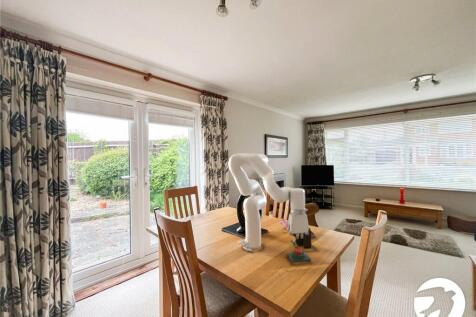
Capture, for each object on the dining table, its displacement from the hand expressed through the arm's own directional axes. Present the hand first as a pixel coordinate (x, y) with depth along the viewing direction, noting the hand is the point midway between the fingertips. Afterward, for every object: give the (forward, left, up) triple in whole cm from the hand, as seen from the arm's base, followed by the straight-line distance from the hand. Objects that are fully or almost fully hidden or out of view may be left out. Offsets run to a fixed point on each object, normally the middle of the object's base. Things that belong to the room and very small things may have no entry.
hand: (298, 245), depth 109 cm
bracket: (+10, +12, -8) cm, 18 cm away
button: (0, 0, -5) cm, 5 cm away
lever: (+7, +12, -2) cm, 14 cm away
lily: (+9, +41, -8) cm, 43 cm away
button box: (0, 0, -8) cm, 8 cm away
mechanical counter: (+19, +29, -8) cm, 36 cm away
